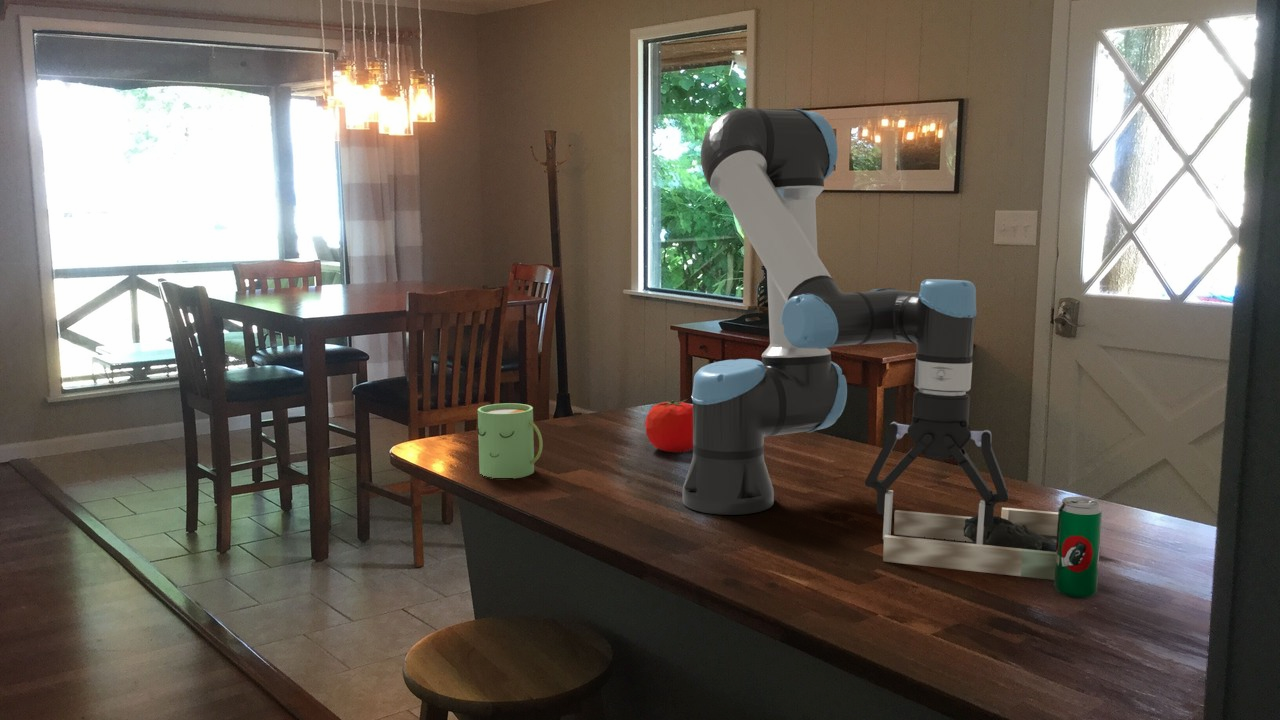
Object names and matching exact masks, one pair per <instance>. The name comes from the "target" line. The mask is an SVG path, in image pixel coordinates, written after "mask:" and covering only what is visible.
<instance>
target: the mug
mask: <svg viewBox="0 0 1280 720" xmlns="http://www.w3.org/2000/svg"><path fill="white" fill-rule="evenodd" d="M477 426H478V427H477V434H478V436H477V437H478V464H479V465H478V467H479V475H480V474H482V475H483V476H482V475H481V476H482V477H484V476H487V477H492V478H491V479H493V478H513V479H520V478H524V477H529V476H530V475H532V474H534V473H535V463H536V462H537V461H538V459H540V457H541V454H542V451H543V448H544V447H543V445H544V443H543V442H544V441H543V437H542V434H541V433H542V432H541V431H540V429H539V427H538V426H537V425H536V423H535V422H534V407H533V406H532V405H529V404H525V403H524V404H523V403H513V402H512V403H511V402H509V403H507V402H506V403H493V404H486V405H483V406H480V407H478V408H477ZM534 431H535V432H536V435H537V437H538V452H537V454H536V456H535V448H534V446H535V445H534V444H535V443H534ZM487 477H486V478H487Z"/></svg>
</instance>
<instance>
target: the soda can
mask: <svg viewBox="0 0 1280 720" xmlns="http://www.w3.org/2000/svg"><path fill="white" fill-rule="evenodd" d="M1057 512H1058V524H1057V542H1056V561H1055V579H1054V580H1053V581H1054V583H1053V586H1054V589H1055V590H1056V591H1057V592H1058V593H1059V594H1060V595H1062V596H1064V597H1068V598H1072V599H1088V598H1092V597H1093V596H1094V595H1096V593H1097V592H1098V582H1099V567H1100V566H1099V565H1100V552H1101V550H1100V549H1101V535H1102V533H1101V532H1102V516H1103V513H1102V510H1101V507H1100V503H1099V501H1097V500H1095V499H1092V498H1088V497H1081V496H1068V497H1063V498H1062V499H1061V504H1060V505H1059V506H1058V507H1057Z"/></svg>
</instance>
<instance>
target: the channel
mask: <svg viewBox="0 0 1280 720" xmlns="http://www.w3.org/2000/svg"><path fill="white" fill-rule="evenodd" d="M1000 514H1001V515H1000V517H1001V518H1004V519H1007V520H1008V521H1010V522H1012V523H1013V524H1017V525H1025V526H1026V527H1027V529H1029V530H1031V531H1033V532H1036V533H1038V534H1039V535H1043V536H1046V537H1047V538H1049V539H1051V540H1052V541H1054V542H1055V543H1056V542H1057V524H1058V511H1056V512H1055V511H1045V510H1035V509H1024V508H1013V507H1001V513H1000ZM972 517H973V516H964V515H955V514H954V515H953V514H943V513H933V512H922V511H921V512H920V511H910V510H900V509H895V510H894V518H893V519H894V520H893V521H894V522H893V523H894V524H893V535H885V536H884V539H883V548H882V549H883V550H882V551H883V556H882V561H883V562H885V563H886V562H887V563H896V564H903V565H914V566H921V567H930V568H931V567H933V568H940V569H951V570H959V571H970V572H979V573H988V574H995V575H996V574H997V575H1007V576H1013V577H1014V576H1016V577H1025V578H1033V579H1041V580H1042V579H1043V580H1051V581H1054V579H1055V561H1056V552H1050V551H1040V550H1030V549H1020V548H1010V547H1000V546H990V545H980V544H976V543H974V542H973V541H972V540H971V539H969V538H968V537H965V536H964V534H963V533H964V527H965V520H966V519H967V518H968V519H970V518H972ZM924 537H925V538H924ZM934 538H935V539H934ZM944 539H945V540H944ZM954 540H955V541H954ZM965 541H966V542H965Z"/></svg>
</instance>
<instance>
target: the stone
mask: <svg viewBox="0 0 1280 720" xmlns="http://www.w3.org/2000/svg"><path fill="white" fill-rule="evenodd" d="M971 517H972V518H970V519H968V518H967V519H966V520H965V527H964V533H963V534H964V536H965V537H968V538H969V539H971V540H972V541H973V542H972V543H974V544H976V541H977V527H978V515H975V516H971ZM983 545H990V546H1000V547H1010V548H1020V549H1030V550H1040V551H1050V552H1056V543H1055V542H1054V541H1052V540H1051V539H1049V538H1047V537H1046V536H1043V535H1039V534H1038V533H1036V532H1033V531H1031V530H1029V529H1027V527H1026V526H1025V525H1017V524H1013V523H1012V522H1010V521H1008V520H1007V519H1004V518H1001V516H995V515H994V516H993V524H992V526H991V527H985V526H984V534H983Z"/></svg>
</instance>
